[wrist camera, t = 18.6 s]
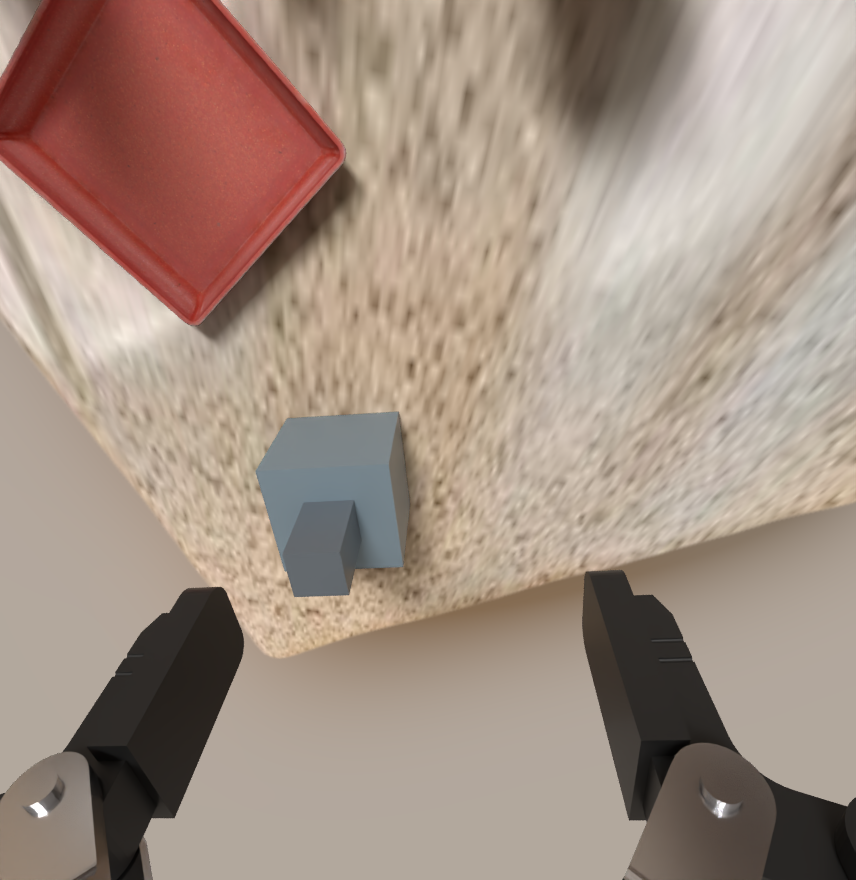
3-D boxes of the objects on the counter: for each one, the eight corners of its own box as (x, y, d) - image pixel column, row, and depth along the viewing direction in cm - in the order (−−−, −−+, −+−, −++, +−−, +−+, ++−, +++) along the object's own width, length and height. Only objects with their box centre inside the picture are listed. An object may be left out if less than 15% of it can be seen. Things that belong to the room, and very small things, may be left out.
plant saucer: (210, 320, 43) (193, 332, 40) (3, 135, 37) (-34, 134, 34) (359, 152, 37) (352, 153, 34) (140, -104, 31) (108, -130, 28)
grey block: (398, 411, 46) (379, 513, 33) (410, 504, 51) (396, 623, 38) (287, 418, 47) (225, 520, 34) (309, 509, 52) (262, 628, 39)
